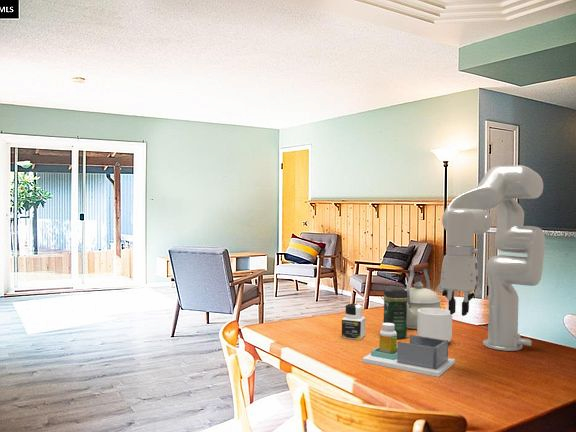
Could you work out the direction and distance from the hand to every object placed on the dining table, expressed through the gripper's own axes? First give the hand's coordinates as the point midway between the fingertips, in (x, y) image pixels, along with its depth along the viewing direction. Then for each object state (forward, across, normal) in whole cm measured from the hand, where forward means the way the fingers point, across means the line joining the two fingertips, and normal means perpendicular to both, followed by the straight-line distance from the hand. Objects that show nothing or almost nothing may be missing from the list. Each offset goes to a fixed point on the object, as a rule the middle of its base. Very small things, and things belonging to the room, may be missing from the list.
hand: (458, 313), depth 155 cm
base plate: (+17, +15, 0) cm, 23 cm away
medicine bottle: (+17, +43, -18) cm, 50 cm away
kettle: (+17, +30, -48) cm, 59 cm away
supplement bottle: (+16, +22, 0) cm, 27 cm away
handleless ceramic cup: (+17, +16, -28) cm, 37 cm away
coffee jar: (+17, +31, -28) cm, 45 cm away
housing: (+16, +10, 0) cm, 19 cm away
